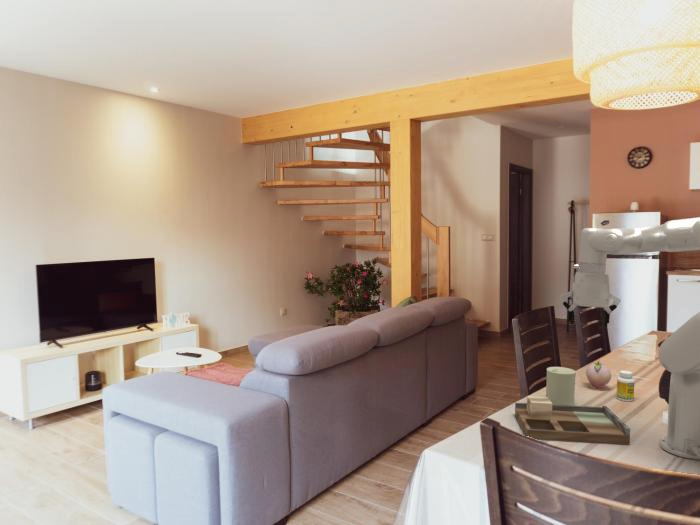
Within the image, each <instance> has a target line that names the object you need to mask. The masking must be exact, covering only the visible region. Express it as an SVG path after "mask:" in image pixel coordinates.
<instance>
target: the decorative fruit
mask: <svg viewBox="0 0 700 525" xmlns="http://www.w3.org/2000/svg"><path fill="white" fill-rule="evenodd" d="M585 374H586V378H587V381H588V382H589V383H590V384H591V386H592V387H594V388H595V389H598V388H601V387H605V386H606V385H608V384H609V382H611V379H612V373H611V371H610V369H609V368H608V366H606V365H603V364H602V363H600V361H597V362H595V363H592V364H590V365H589V366H588V367H587V368H586V371H585Z"/></svg>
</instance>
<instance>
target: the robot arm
mask: <svg viewBox="0 0 700 525" xmlns="http://www.w3.org/2000/svg"><path fill="white" fill-rule="evenodd" d="M579 241H580V242H579V256H578V262H577V263H574V264H573V269H576V270H577V271H576V272H575V275H574V278H573V282H572V289H571V290H570V291H568V292H565V293H563V294H560V295H559V299H560V301H561V303H562V306H564V307H565V309H566V310H567V317H566V318H567V319H566V320H567V322H568V323H569V324H570V325H574V322H575V311H574V309H575V308H577V307H588V308H602V309H603V310H604V311H602V316H601V318H602V319H601V325H602V326H603V327H608V324H610V319H611V318H610V317H611V315H610V314H612V312H613V311H615V309H617V308H618V306H619V304H620V302H621V299H620V298H618V297H617V296H615V295H613V294H612V293H610V291H611V290H610V278H609V277H610V276H609V274H607V273H606V269H607V256H608V254H609V255H616V256H617V255H634V254H642V253H643V254H645V253H659V252H669V253H675V252H686V251H687V252H688V251H700V216H698V217H691V218H690V217H689V218H681V219H672V220H668V221H666V222H664V223H663V224H659V225H654V226H646V227H645V226H644V227H633V228H620V227H619V228H599V227H585V228H583V229H582V230H581V232H580V240H579ZM569 297H570V301H571V302H569V303H568V302H567V298H569ZM610 300H613V302H612V304H610ZM657 356H658V361H659V363H660V365H661V366H662V368H664V370H666V371H668V372H670V382H669V394H668V413H667V427H666V431H667V432H666V437H663V438H660V441H659V446H660V448H661V449H663V450H664V451H666V452H668V453H670V454H673V455H675V456H677V457H681V458H686V459H689V460H698V461H699V460H700V311H699V312H697V313H696V314H693V316H691V317H690V318H689V319H688V320H687V321H685V322H684V323H683V324H682V325H681V326H680V327H678V328H677V329H676V330H675V331H674V332H673V333H672V334H671V335H669V336H668V337H667V338H665V339H664V341H662V342H661V344H660V346H659V349H658V351H657Z"/></svg>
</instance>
